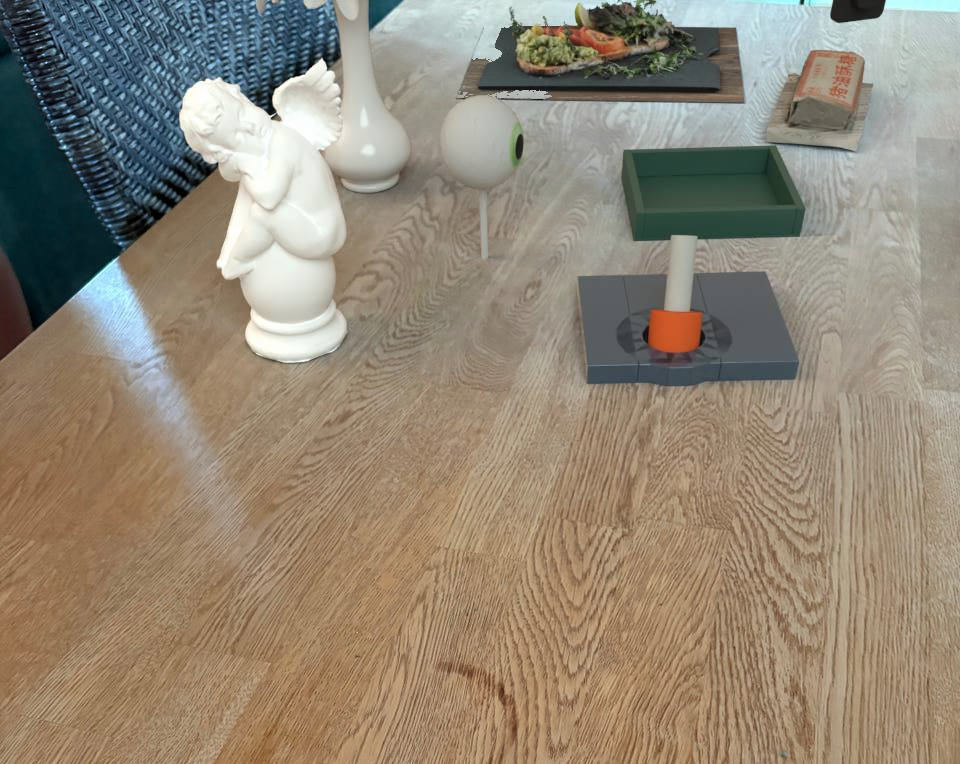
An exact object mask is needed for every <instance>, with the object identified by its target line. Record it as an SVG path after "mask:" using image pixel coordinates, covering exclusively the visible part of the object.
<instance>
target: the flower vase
mask: <svg viewBox="0 0 960 764" xmlns="http://www.w3.org/2000/svg"><path fill="white" fill-rule="evenodd" d="M268 1H269V0H255V1H254V2H255V5H256V10H257V12H258V13H259V14H260V15H262V14H264V12H265V11H266V7H267V4H268ZM328 1H329V0H303V5H304V7H306V9H308V10H314V9H318V8H320V7H322V6H323V5H324V4H326V3H327V2H328ZM331 1H332V5H333V9H334V13H335V17H336V18H335V19H336V23H337V28H338V34H339V35H338V37H339V48H340V58H341V60H340V61H341V71H342V93H341V101H342V102H341V104H339V107H340V109H341V112H340V114H341V115H342V117H343V122H342V124H343V129H342V130H341V131H342V134H341V137H340V138H339V139H338V141H337V142H333V143H332V146H329V147H327V148H326V150H321V155H322V156H323V157H324V159H325V160H326V162H327V164H328V166H329V168H330V170H331V172H332V174H333V173H334V175H336V176H338V177H339V178H340V182H341V185H342V186H343V187H344V188H345V189H347V190H348V191H351V192H354V193H361V194H371V193H379V192H383V191H386V190H389V189H391V188H393V187H395V185H397V184H398V182H399V180H400V172H402V171H403V169H405V167H406V166H407V164H408V162H409V160H410V158H411V155H412V152H413V148H412V147H413V146H412V141H411V137H410V135H409V132H408V131H407V129H406V128H405V126H404V125H403V124H402V123H401V122H400V120H399V119H398V118H396V117H395V116H394V115H393V113H391V112H390V110H389V109H388V107H387V105H386V103H385V101H384V99H383V97H382V95H381V92H380V90H379V85H378V81H377V77H376V71H375V65H374V58H373V57H374V56H373V50H372V43H371V35H370V24H369V21H370V20H369V3H370V2H369V0H331ZM271 3H272V4H275V5H276V6H277V5H279V4H280V0H271Z"/></svg>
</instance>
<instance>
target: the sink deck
mask: <svg viewBox="0 0 960 764" xmlns="http://www.w3.org/2000/svg"><path fill="white" fill-rule="evenodd" d="M666 283H667V273H650V274H649V273H648V274H647V273H646V274H605V275H603V274H602V275H577V276H576V300H577V310H578V318H579V328H580V336H581V346H582V354H583V355H582V356H583V363H584V372H585V381H586V384H587V385H606V384H607V385H608V384H609V385H610V384H611V385H613V384H652V385H656V386H662V387H691V386H695V385H699V384H703V383H706V382H742V381H743V382H744V381H749V382H750V381H788V380H789V381H792V380H793V381H794V380H796V378H797V375H798V374H797V373H798V369H799V364H800V358H799V357H798V354H797V351H796V348H795V345H794V342H793V340H792V337H791V335H790V332H789V330H788V326H787V324H786V321H785V319H784V317H783V314H782V311H781V308H780V306H779V305H780V304H779V303H778V301H777V297H776V294H775V292H774V290H773V287H772V284H771V282H770V279H769V276H768V273H767V271H766V270H765V271H764V270H763V271H762V270H761V271H725V272H723V271H722V272H720V271H719V272H718V271H717V272H694V276H693V285H692V295H691V304H690V311H695V312H702V313H703V315H702V324H701V333H700V342H699V347H698V348H696V349H695V350H691V351H688V352H674V353H670V352H665V351H660V350H658V349H655V348H653V347H651V346H649V345H648V336H649V325H650V314H651V310H664V303H665V293H666Z"/></svg>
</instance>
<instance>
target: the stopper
mask: <svg viewBox="0 0 960 764" xmlns="http://www.w3.org/2000/svg"><path fill="white" fill-rule="evenodd" d="M697 238H698V237H697V236H687V235H671V240H669V242H670V243H669V253H668V263H667V272H666V274H667V283H666V293H665V303H664V310H651V314H650V325H649V336H648V343H647V344H648V345H649V346H651V347H653V348H655V349H658V350H660V351H665V352H670V353H674V352H688V351H691V350H695V349H696V348H698V347H699V342H700V333H701V324H702V315H703V313H702V312H695V311H690V304H691V295H692V285H693V276H694V273H695V267H696V266H695V265H696V255H697V245H698V240H697Z"/></svg>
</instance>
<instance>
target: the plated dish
mask: <svg viewBox="0 0 960 764" xmlns="http://www.w3.org/2000/svg"><path fill="white" fill-rule="evenodd" d="M620 2H621V4H618V3H620ZM657 2H658V1H657V0H633V3H635V6H634V5H633V4H632V2H631V1H630V2H628V1H627V2H626V1H623V0H617V2H616V3H615V2H614V3H612V4H610V3H609V2H607V1H605V2H603V1H602V2H600V3H601V4H600V5H601V6H599V5H596V6H595V7H594V8H590V7H589V8H588V9H586V8H585V7H584V5H582V2H581V1H580V2H579V1H578V3H577V4H576V6H575V8H574V19H575V23H576V25H569V24H567V23H566V21H563V26H561V25H560V26H548V25H549V24H548V20H547V18H546V16H545V15H542V19H543V20H544V25H545V26H540V25H541V24H539V23H535V24H533V25H534V26H522V25H523V22H520V23H519V22H518V21H517V19H515V12H514V11H515V9H514V8H513V7H512V6H509V8H508V10H509V14H510V18H509V20H510V21H512V22H511V25H512V26H510V27H509V28H505V27H504V28H501V31H500V33H499V36H498V38H497V40H496V43H495V48H496V49H498V50H500V51H501V52H502V55H501V57H499V58H498V59H496V60H495V61H492V60H491V61H492V62H489V61H488V60H490V59H488V60H486V58H485V59H478V58H476V59H475V60H473V59H472V58H471V59H470V61H469V64H468V66H467V69H466V72H465V74H464V77H463V80H462V82H461V83H460V84H461V85H460V86H459V89H458V92H459V91H461V92H460V94H459V95H463V92H468V93H467V94H466V95H465V96H468V97H465V96H464V98H465V99H466V98H469V97H473V96H478V95H488V94H489V95H492V94H495V93H497V92H498V93H500V92H503V91H508V92H507V93H511V92H513V91H515V90H519V91H522V90H529V91H530V90H536V91H539V90H540V91H546V92H548V93H546V94H544V95H551V96H552V97H549V98H546V99H543V100H542V101H603V102H604V101H605V102H670V103H671V102H674V103H675V102H680V103H683V102H684V103H685V102H686V103H743V104H744V103H746V102H745V91H744V83H743V74H742V67H741V66H742V65H741V58H740V49H739V41H738V40H739V39H738V31H737V27H736V26H735V27H725V26H724V27H723V26H720V27H718V26H716V27H715V26H676V25H675V24H673V21H672V20H671V21H667V19H666V18H665V16H664V15H663V13H660V14H659V10H658V9H656V10H655V14H654V13H652V14H651V11H652V10H651V9H650V10H649V11H647V12H646V11H645V10H646V7H647V8H648V6H649V5H650V8H653V6H655V5H656V4H657ZM642 6H643V7H642ZM517 25H518V26H517ZM546 25H547V26H546ZM463 86H465V87H463ZM533 92H534V91H533ZM469 94H473V95H469ZM489 95H488V96H489ZM496 95H497V94H496ZM517 95H518V94H517ZM507 96H509V95H507ZM491 97H492V96H491ZM495 97H496V98H497V96H495ZM455 99H456V100H462V99H461V98H456V97H455ZM503 100H506V99H505V98H504V99H503ZM521 100H524V98H523V99H520V101H521ZM527 100H529V101H530V98H528V99H526V101H527Z"/></svg>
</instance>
